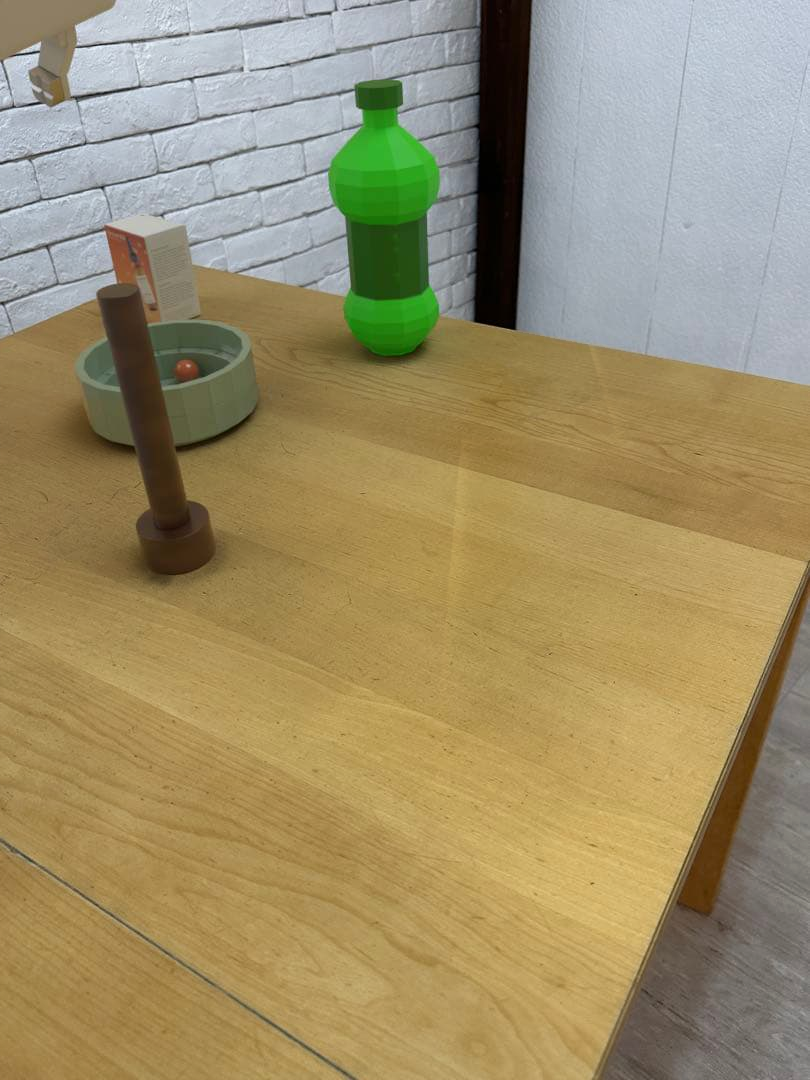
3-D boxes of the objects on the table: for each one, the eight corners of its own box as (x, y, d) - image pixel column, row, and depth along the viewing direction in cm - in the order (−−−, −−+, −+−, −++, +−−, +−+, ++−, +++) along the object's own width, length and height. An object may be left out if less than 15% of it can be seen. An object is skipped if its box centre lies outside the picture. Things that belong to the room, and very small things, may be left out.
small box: (123, 314, 106) (101, 223, 100) (163, 300, 109) (144, 211, 103) (162, 330, 102) (142, 236, 95) (203, 315, 105) (186, 223, 99)
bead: (173, 388, 88) (168, 365, 86) (180, 377, 90) (175, 355, 88) (197, 388, 87) (192, 365, 86) (204, 377, 89) (199, 355, 88)
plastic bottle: (347, 328, 100) (325, 76, 85) (443, 325, 99) (437, 71, 85) (339, 367, 92) (312, 96, 77) (443, 364, 91) (436, 91, 76)
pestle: (134, 573, 65) (59, 306, 53) (157, 532, 69) (92, 275, 58) (204, 575, 64) (145, 305, 53) (223, 533, 69) (171, 274, 57)
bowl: (64, 453, 80) (46, 392, 76) (125, 375, 92) (111, 319, 89) (237, 455, 78) (226, 392, 75) (275, 375, 91) (267, 318, 87)
